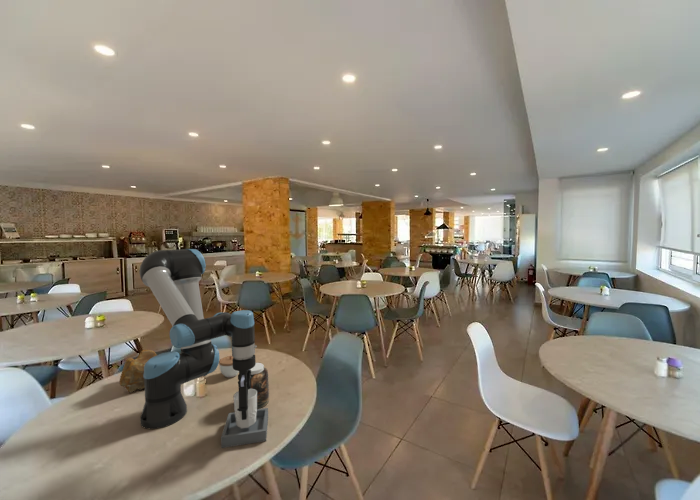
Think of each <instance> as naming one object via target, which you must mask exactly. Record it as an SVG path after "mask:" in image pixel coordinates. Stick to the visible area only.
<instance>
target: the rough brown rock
mask: <svg viewBox="0 0 700 500" xmlns="http://www.w3.org/2000/svg"><path fill="white" fill-rule="evenodd" d="M157 355H158V354H157V352H155V351H154V350H152V349H143V350H141V351H140V352H139V354H138V355H137V357H136V358H135V359H134V358H133V357H128V358H126V359H125V362H124V365H123V368H122V371H121V373H120V377H119V385H120V386H121V387H124V388H125V390H126V392H128V393H130V392H131V393H134V392H136V391H137V390H142V389H145V386H144V377H143V374H144V365H145V364H146V362H147V361H148V360H149V359H151V358H153V357H154V356H157ZM133 391H134V392H133Z"/></svg>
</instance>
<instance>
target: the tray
mask: <svg viewBox="0 0 700 500" xmlns="http://www.w3.org/2000/svg"><path fill="white" fill-rule="evenodd" d="M268 424H269V408H268V407H265V408H264V407H262V408H260V409H257V413H256V422H255V423H254V424H253V425H251V426H249V427H248V428H241V427H238V426H237V425H236V417H235V411H234V412H229V413H228V415H227V418H226V421H225V424H224V427H223V431H222V433H221V437H220V442H221V446H220V447H221V448H220V449H225V448H231V447H236V446H237V447H238V446H242V445H249V444H256V443H262V442H267V438H268V437H267V435H268V426H269V425H268Z"/></svg>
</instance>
